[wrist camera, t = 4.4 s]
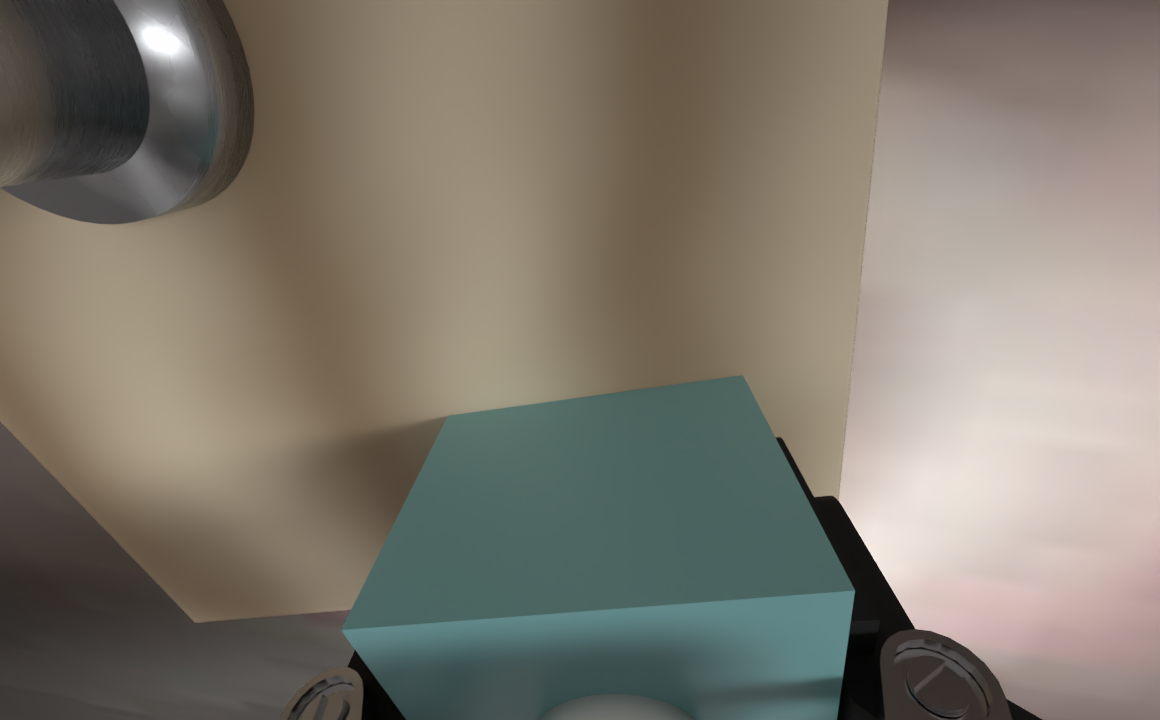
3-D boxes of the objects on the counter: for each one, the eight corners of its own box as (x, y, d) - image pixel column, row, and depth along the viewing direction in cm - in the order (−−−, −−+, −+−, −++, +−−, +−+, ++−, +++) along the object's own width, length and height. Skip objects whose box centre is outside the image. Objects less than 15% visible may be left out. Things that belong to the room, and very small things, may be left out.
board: (906, -885, 4) (1012, -1231, 3) (812, 530, 12) (831, 569, 11) (-493, -244, 6) (-709, -312, 5) (223, 585, 15) (194, 622, 14)
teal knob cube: (743, 375, 9) (879, 637, 4) (748, 576, 12) (836, 859, 7) (448, 415, 10) (318, 673, 5) (519, 595, 12) (475, 861, 8)
